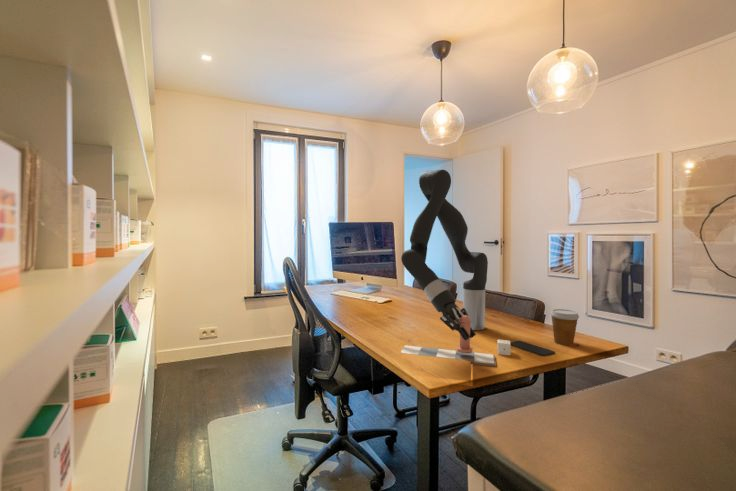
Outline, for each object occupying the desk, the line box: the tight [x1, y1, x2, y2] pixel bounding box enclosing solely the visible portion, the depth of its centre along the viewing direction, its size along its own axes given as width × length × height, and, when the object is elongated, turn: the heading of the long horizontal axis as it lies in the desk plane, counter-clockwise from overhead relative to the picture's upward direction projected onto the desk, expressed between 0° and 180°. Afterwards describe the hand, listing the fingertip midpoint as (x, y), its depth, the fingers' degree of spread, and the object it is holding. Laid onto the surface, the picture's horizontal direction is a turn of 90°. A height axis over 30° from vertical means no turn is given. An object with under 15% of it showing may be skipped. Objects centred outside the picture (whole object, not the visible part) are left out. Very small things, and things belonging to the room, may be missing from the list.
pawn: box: [456, 315, 473, 353], centre depth 114 cm, size 5×5×12 cm
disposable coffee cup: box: [549, 308, 580, 346], centre depth 132 cm, size 10×10×12 cm
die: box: [496, 339, 512, 356], centre depth 120 cm, size 4×4×4 cm
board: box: [400, 344, 497, 368], centre depth 117 cm, size 9×31×1 cm, turn 73°
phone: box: [510, 340, 556, 357], centre depth 125 cm, size 7×1×15 cm
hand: (470, 337), depth 113 cm, fingers closed on pawn, 3 cm apart
